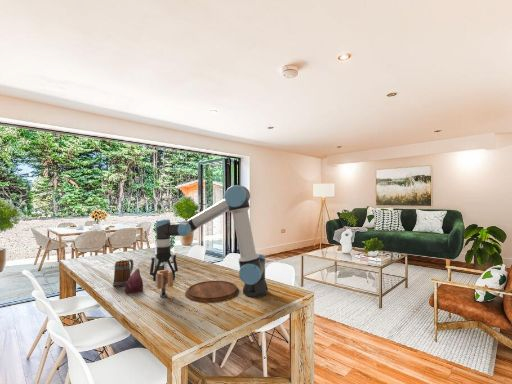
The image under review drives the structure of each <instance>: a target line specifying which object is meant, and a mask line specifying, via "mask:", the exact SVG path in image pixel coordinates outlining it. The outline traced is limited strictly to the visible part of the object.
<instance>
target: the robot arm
mask: <svg viewBox="0 0 512 384" xmlns="http://www.w3.org/2000/svg"><path fill="white" fill-rule="evenodd" d="M250 198H251V193H250V191H249V189H248V188H247V187H245V186H243V185H239V184H235V185H231V186H229V187H228V188H227V189H226V190H225V192H224V198H223V199H222V200H220V201H218V202H216V203H215V204H213V205H211V206H210V207H208V208H206V209H204V210H203V211H201V212H199V213H198V214H196V215H194V216H192V217H190V218H189V219H187V220H185V221H181V222H171V220H170V219H168V218H164V219H162V218H161V219H158V220H156V227H155V229H156V246H157V247H156V255H155V256H151V258H150V259H151V263H150V270H149V275H150V276H152V279H153V282H155V283H154V284H155V285H154V286H155V288H157V275H156V273H157V271H159V269H160V266H161V264H162V263H167V265H168V266H169V269H170V270H171V271H172V272H173V279H175V277H176V274H175V273H176V272H178V271H179V269H178V264H177V254H175V253H171V237H172V236H173V237H187V236H189V235H190V233H193V232H195V231H196V230H197V229H199V228H200V227H203V226H204V225H206V224H209V222H211V221H213V220H215V219H216V218H218V217H220V216H222V215H223V214H225V213H227V212H229V213H231V214H232V217H233V218H232V219H233V223H234V229H235V234H236V238H237V244H238V251H239V255H240V257H238V265H239V272H238V277H239V279H240V280H241V281H242V282H243V283H244V285H243V288H242V294H243V295H244V296H247V297H249V298H251V297H252V298H260V297H259V296H261V297H264V296H263V295H265V296H266V294H267V293H268V294H269V288H268V285H267V282H266V256H265V254H263V253H256V246H255V242H254V237H253V232H252V225H251V221H250V217H249V209H250V202H249V201H250ZM156 259H157V264H156V265H155V261H156ZM170 259H172V262H173V265H172V262H171V261H170ZM154 266H155V268H154ZM268 294H267V295H268Z"/></svg>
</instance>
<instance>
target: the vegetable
mask: <svg viewBox="0 0 512 384" xmlns="http://www.w3.org/2000/svg"><path fill="white" fill-rule="evenodd" d="M143 291H144V282H143V278H142V276H141V271H140V268H139V267H138V268H136V269H135V270H134V272H133V273H131V274H130V278H129V279H128V281H127V284H126V286H124V292H125V294H127V295H128V294H130V295H132V294H133V295H134V294H138V293H141V292H143Z"/></svg>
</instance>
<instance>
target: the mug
mask: <svg viewBox="0 0 512 384" xmlns="http://www.w3.org/2000/svg"><path fill="white" fill-rule="evenodd" d="M133 270H134V260H133V259H131V258H129V259H125V260H124V259H123V260H117V261H115V263H114V271H113V272H114V275H113V281H112V284H113V286H114V287H116V288H123V287H126V284H127V281H128V279H129V278H130V276H131V275H132V272H133Z"/></svg>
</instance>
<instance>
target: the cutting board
mask: <svg viewBox="0 0 512 384" xmlns="http://www.w3.org/2000/svg"><path fill="white" fill-rule="evenodd" d="M238 292H239V293H240V290H239V287H238V286H237V285H236V283H233V282H230V281H226V280H206V281H200V282H197V283H194V284H192V285H190V286H189V287H188V288H187V289H186V290H185V293H184V294H185V297H186V299H187V300H189V301H191V302H196V303H205V304H207V303H210V302H212V303H220V302H225V301H228V300H230V298H231V299H233V298H235V297H236V296H238V295H237V294H239V293H238ZM234 296H235V297H234ZM232 297H233V298H232ZM227 299H228V300H227ZM224 300H225V301H224ZM219 301H220V302H219ZM210 304H211V303H210Z"/></svg>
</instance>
